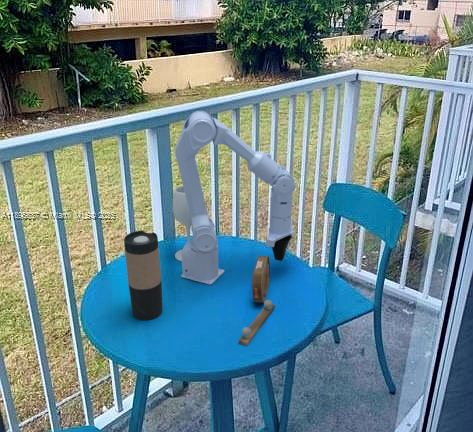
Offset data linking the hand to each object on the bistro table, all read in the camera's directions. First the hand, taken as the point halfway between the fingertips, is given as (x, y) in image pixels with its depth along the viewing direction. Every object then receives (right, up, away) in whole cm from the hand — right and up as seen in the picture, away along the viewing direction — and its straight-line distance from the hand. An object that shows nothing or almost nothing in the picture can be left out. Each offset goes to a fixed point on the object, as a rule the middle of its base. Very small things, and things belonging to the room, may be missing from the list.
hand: (279, 259), depth 132 cm
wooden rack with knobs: (-7, -13, -22) cm, 26 cm away
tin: (-6, -8, -9) cm, 13 cm away
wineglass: (-26, 0, +10) cm, 27 cm away
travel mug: (-33, -11, -17) cm, 39 cm away
